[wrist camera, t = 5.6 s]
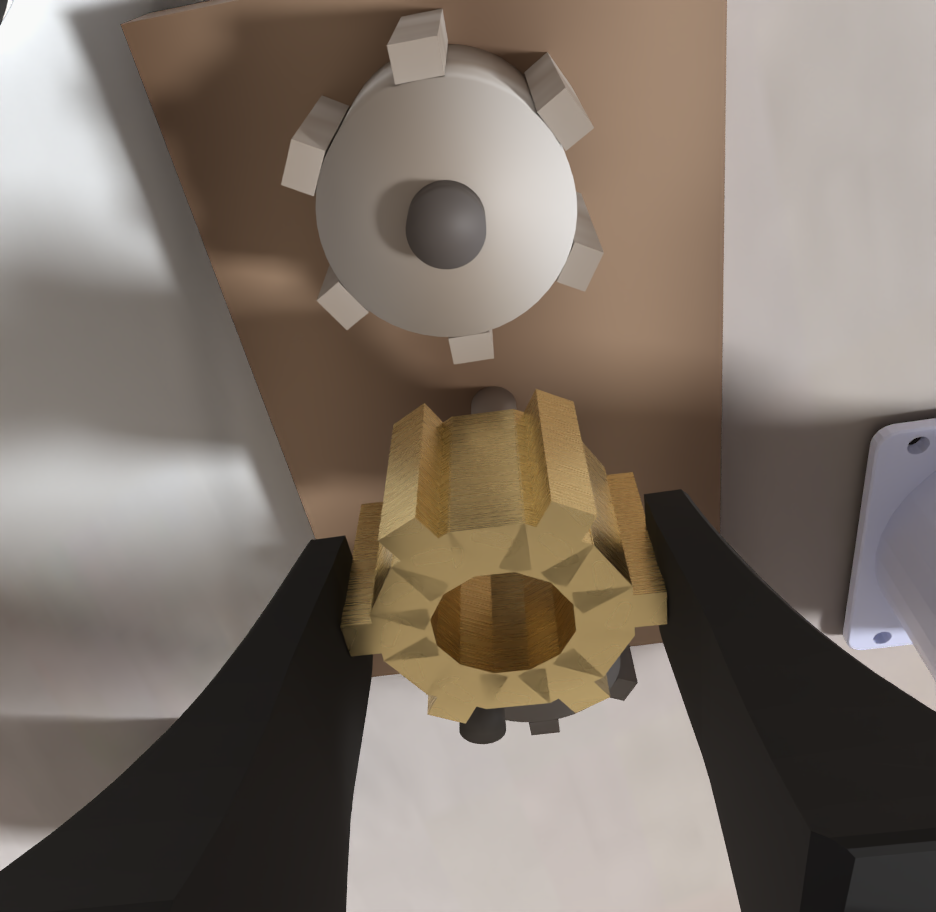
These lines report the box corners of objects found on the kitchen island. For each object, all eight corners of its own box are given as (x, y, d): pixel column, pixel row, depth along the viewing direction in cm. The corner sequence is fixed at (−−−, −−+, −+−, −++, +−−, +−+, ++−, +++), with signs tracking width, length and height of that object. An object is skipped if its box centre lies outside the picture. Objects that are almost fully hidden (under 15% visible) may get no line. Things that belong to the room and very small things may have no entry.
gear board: (704, -103, 14) (839, -98, 9) (705, 596, 23) (769, 784, 18) (149, 12, 15) (-11, 75, 10) (372, 637, 24) (350, 826, 19)
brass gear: (629, 376, 13) (666, 487, 11) (636, 579, 16) (667, 704, 13) (335, 414, 14) (306, 529, 11) (390, 605, 16) (377, 731, 14)
